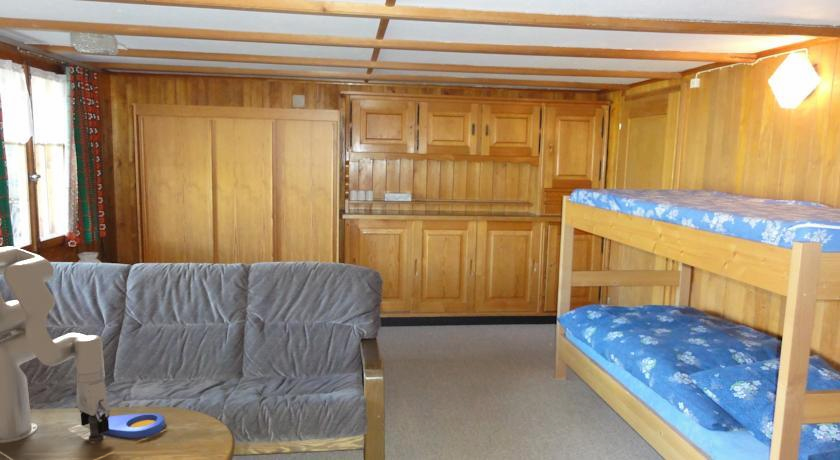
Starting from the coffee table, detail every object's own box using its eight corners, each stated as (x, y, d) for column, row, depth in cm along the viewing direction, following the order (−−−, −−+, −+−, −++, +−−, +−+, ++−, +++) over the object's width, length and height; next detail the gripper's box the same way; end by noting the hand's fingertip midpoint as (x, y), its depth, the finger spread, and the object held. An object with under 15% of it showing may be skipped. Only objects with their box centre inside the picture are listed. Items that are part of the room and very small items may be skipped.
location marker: (77, 438, 190) (150, 441, 186) (76, 428, 189) (149, 430, 186) (104, 419, 203) (173, 422, 199) (103, 410, 202) (172, 412, 199)
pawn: (86, 439, 186) (84, 414, 185) (99, 434, 189) (97, 409, 188) (93, 443, 184) (90, 417, 183) (106, 437, 187) (103, 412, 186)
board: (64, 431, 193) (64, 429, 193) (80, 425, 197) (80, 423, 197) (91, 445, 184) (91, 443, 183) (107, 439, 188) (107, 437, 188)
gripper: (64, 373, 186) (68, 425, 188) (93, 385, 176) (97, 440, 178) (88, 366, 192) (93, 416, 194) (118, 377, 182) (122, 430, 184)
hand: (95, 427), depth 186 cm, fingers open, 9 cm apart
